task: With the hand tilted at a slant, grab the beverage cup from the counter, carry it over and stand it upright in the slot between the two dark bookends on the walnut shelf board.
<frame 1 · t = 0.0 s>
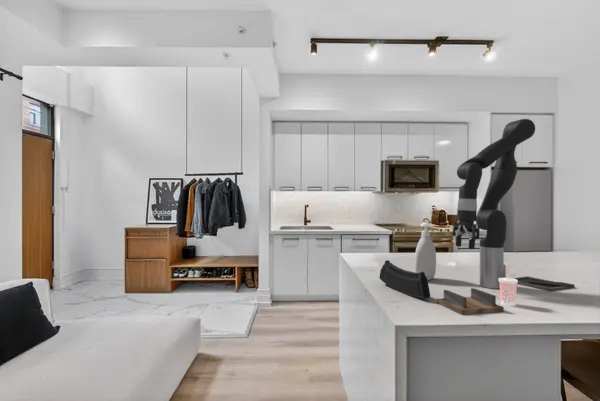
hand: (464, 247, 156), 17 cm above the countertop, tool pointing down, fingers open, 8 cm apart
beverage cup: (508, 304, 132), on the countertop
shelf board: (468, 307, 129), on the countertop
soap bottle: (427, 280, 173), on the countertop
magazine: (402, 292, 150), on the countertop
picture frame: (537, 286, 163), on the countertop
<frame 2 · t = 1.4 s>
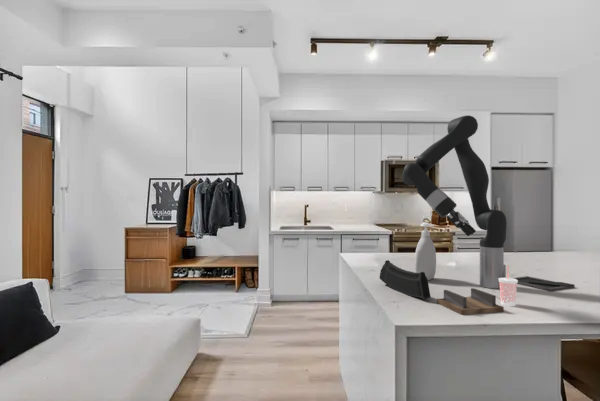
hand: (472, 233, 138), 25 cm above the countertop, tool tilted 45°, fingers open, 8 cm apart
nothing on the countertop moved.
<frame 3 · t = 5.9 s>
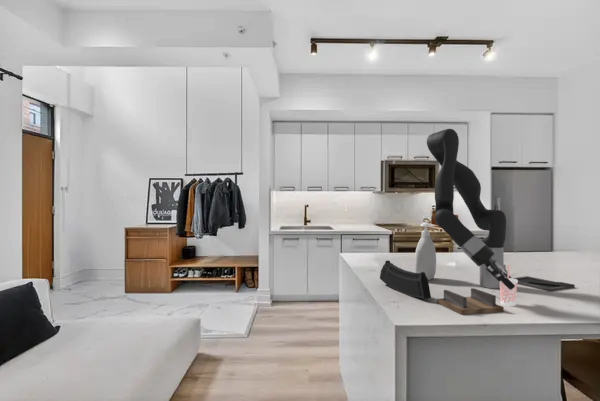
hand: (513, 286, 131), 7 cm above the countertop, tool tilted 45°, fingers closed on beverage cup, 6 cm apart
beverage cup: (508, 304, 132), on the countertop, touching gripper
everything else where it was.
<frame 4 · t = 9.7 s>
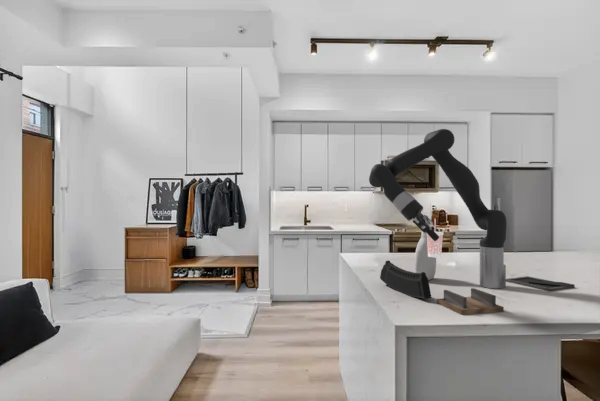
hand: (439, 238, 134), 23 cm above the countertop, tool tilted 45°, fingers closed on beverage cup, 6 cm apart
beverage cup: (434, 257, 135), point 17 cm above the countertop, touching gripper
everything else where it was.
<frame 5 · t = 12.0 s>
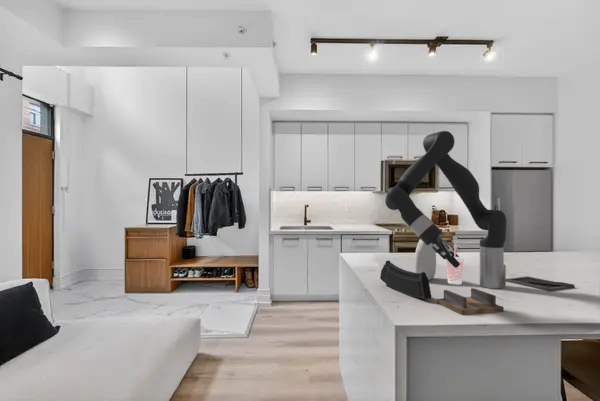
hand: (459, 264, 130), 15 cm above the countertop, tool tilted 45°, fingers closed on beverage cup, 6 cm apart
beverage cup: (454, 283, 131), point 8 cm above the countertop, touching gripper
everything else where it was.
when the fingers open (9 cm above the countertop, at t = 13.9 s): beverage cup drops 1 cm, resting on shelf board.
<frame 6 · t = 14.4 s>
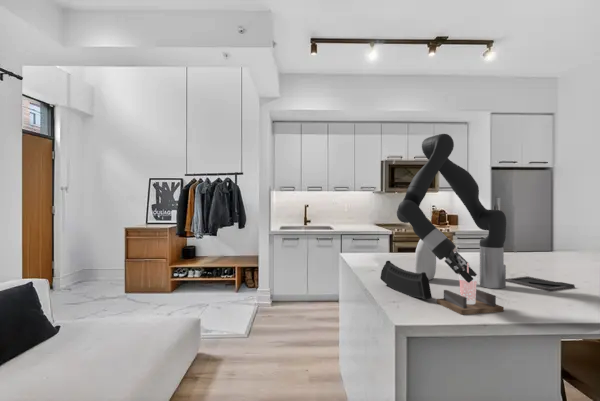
hand: (473, 278, 128), 10 cm above the countertop, tool tilted 45°, fingers open, 8 cm apart
beverage cup: (468, 303, 129), point 1 cm above the countertop, touching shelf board
everything else where it was.
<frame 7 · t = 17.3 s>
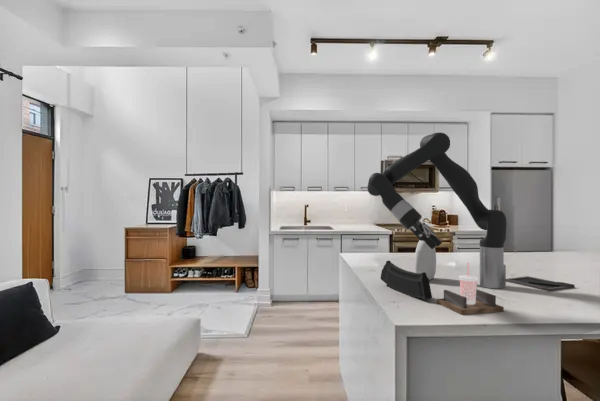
hand: (437, 246, 134), 21 cm above the countertop, tool tilted 45°, fingers open, 8 cm apart
nothing on the countertop moved.
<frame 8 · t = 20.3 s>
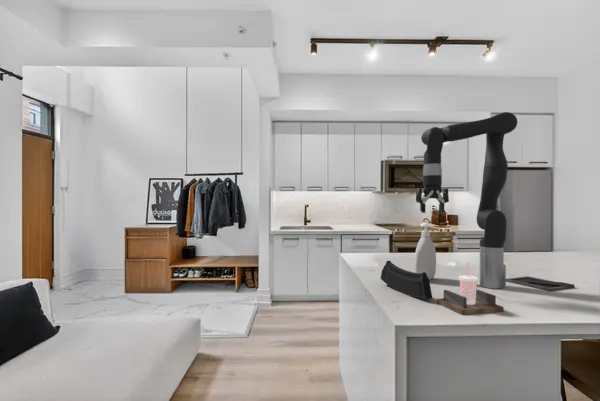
hand: (432, 212, 158), 32 cm above the countertop, tool pointing down, fingers open, 8 cm apart
at the end: beverage cup 0.2 cm off-centre on the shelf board, point 1.3 cm above the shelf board's base; beverage cup tilted 0°; the gripper is holding nothing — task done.
